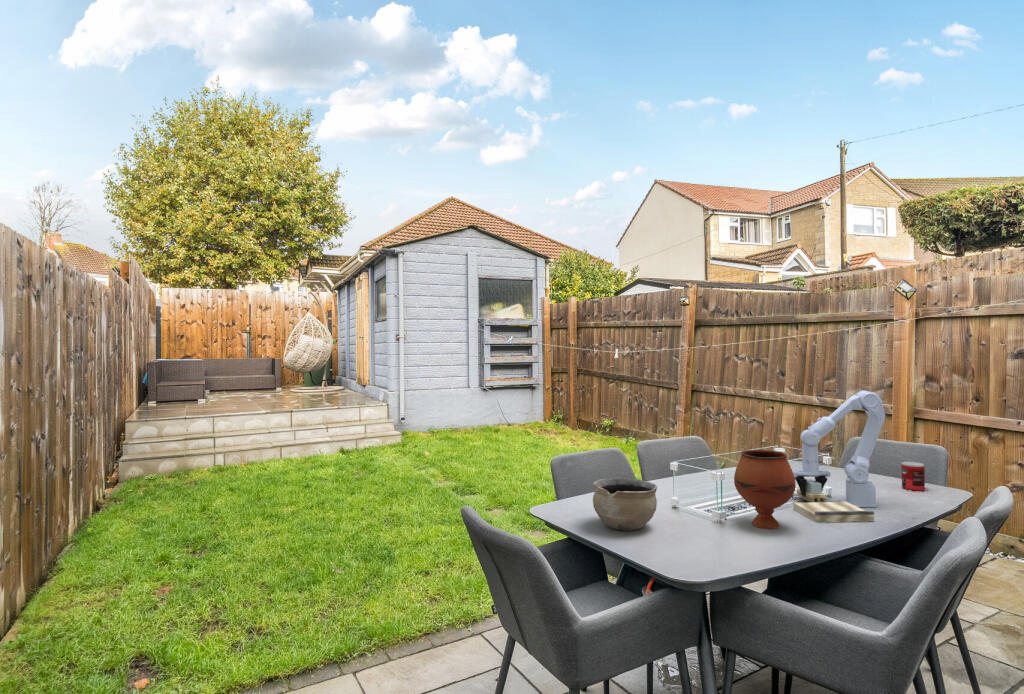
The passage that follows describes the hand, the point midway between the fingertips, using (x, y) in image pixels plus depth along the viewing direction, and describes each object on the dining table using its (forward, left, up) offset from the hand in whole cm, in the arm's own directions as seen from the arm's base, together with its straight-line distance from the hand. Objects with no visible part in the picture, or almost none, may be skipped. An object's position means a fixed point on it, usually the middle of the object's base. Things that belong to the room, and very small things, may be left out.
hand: (811, 495), depth 219 cm
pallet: (0, 0, -2) cm, 2 cm away
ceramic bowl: (+79, +27, -3) cm, 84 cm away
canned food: (-52, -16, -3) cm, 54 cm away
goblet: (+31, +28, -3) cm, 42 cm away
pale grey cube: (0, +2, +1) cm, 2 cm away
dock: (+2, +18, -3) cm, 18 cm away
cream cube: (0, -2, +1) cm, 3 cm away
